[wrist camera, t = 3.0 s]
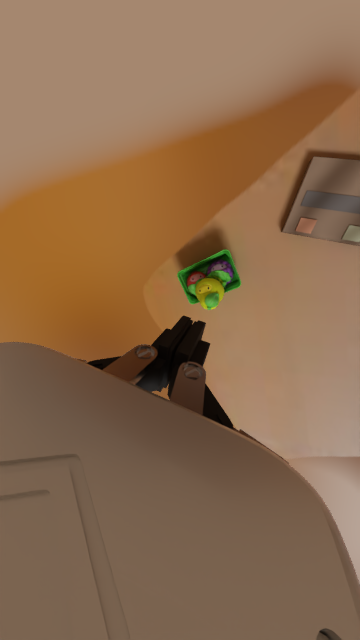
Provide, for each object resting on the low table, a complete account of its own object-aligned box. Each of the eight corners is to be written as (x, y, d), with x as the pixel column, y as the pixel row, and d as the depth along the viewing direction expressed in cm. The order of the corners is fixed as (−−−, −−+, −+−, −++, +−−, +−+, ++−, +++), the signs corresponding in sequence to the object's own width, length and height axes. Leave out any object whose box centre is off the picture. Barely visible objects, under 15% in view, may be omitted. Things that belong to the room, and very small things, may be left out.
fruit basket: (230, 246, 35) (224, 248, 25) (244, 286, 37) (244, 302, 28) (183, 269, 40) (163, 278, 31) (198, 303, 42) (183, 321, 33)
